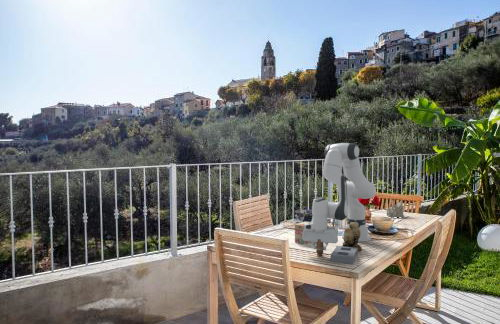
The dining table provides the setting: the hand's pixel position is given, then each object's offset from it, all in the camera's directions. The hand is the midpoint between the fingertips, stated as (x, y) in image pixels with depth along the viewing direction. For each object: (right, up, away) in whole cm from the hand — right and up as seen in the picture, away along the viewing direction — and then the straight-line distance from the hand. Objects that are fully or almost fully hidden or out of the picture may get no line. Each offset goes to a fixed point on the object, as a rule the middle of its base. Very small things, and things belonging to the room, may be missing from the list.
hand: (319, 249), depth 228 cm
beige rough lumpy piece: (+21, -3, +13) cm, 25 cm away
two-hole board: (+13, -4, -5) cm, 14 cm away
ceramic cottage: (+87, +2, +120) cm, 148 cm away
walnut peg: (0, -4, 0) cm, 4 cm away
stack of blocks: (-1, -2, +37) cm, 37 cm away
